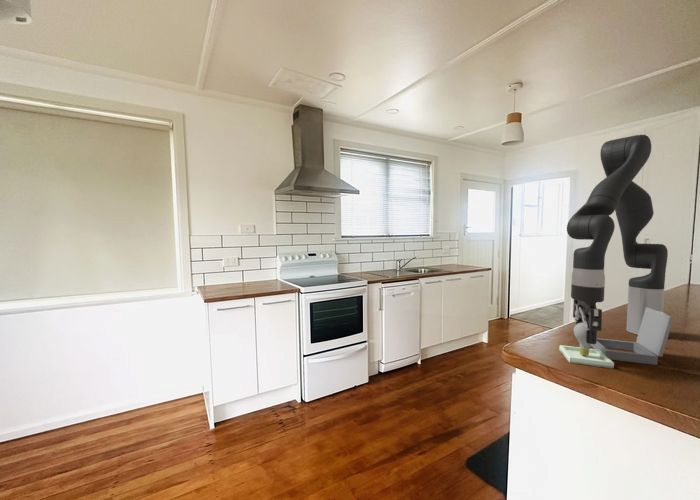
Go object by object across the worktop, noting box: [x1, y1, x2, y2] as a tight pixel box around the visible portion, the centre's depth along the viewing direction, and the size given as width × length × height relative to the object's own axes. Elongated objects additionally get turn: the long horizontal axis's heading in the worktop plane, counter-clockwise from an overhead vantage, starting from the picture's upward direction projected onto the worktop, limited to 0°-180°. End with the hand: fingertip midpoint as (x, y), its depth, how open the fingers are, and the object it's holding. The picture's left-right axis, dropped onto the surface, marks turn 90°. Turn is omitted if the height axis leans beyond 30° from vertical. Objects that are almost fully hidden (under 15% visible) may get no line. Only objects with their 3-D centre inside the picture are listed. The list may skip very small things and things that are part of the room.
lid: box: [635, 307, 675, 358], centre depth 86 cm, size 12×12×1 cm
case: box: [590, 337, 659, 366], centre depth 89 cm, size 12×12×2 cm
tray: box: [558, 344, 615, 369], centre depth 86 cm, size 10×10×2 cm
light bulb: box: [573, 322, 591, 356], centre depth 86 cm, size 6×6×10 cm
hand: (585, 338), depth 85 cm, fingers open, 8 cm apart
